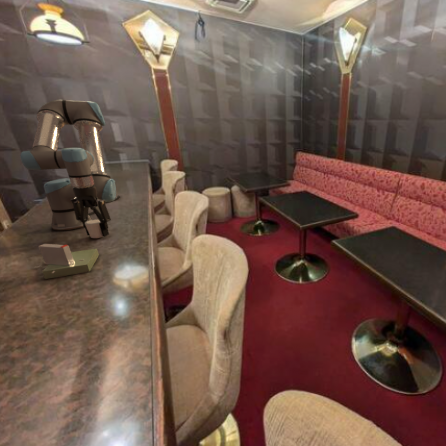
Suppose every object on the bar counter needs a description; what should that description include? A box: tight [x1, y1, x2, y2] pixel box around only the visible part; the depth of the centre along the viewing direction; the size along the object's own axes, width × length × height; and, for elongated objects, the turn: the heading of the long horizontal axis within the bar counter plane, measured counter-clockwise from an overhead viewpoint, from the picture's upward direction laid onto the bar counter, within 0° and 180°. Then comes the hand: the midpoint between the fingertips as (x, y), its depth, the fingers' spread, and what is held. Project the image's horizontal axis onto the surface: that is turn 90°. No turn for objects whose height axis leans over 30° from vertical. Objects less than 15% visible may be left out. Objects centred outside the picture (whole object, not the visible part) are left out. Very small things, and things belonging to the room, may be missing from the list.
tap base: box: [34, 248, 99, 280], centre depth 88 cm, size 16×15×3 cm
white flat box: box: [38, 243, 75, 266], centre depth 85 cm, size 9×2×7 cm, turn 85°
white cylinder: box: [85, 218, 104, 239], centre depth 112 cm, size 7×7×7 cm
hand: (98, 234), depth 113 cm, fingers closed on white cylinder, 7 cm apart
